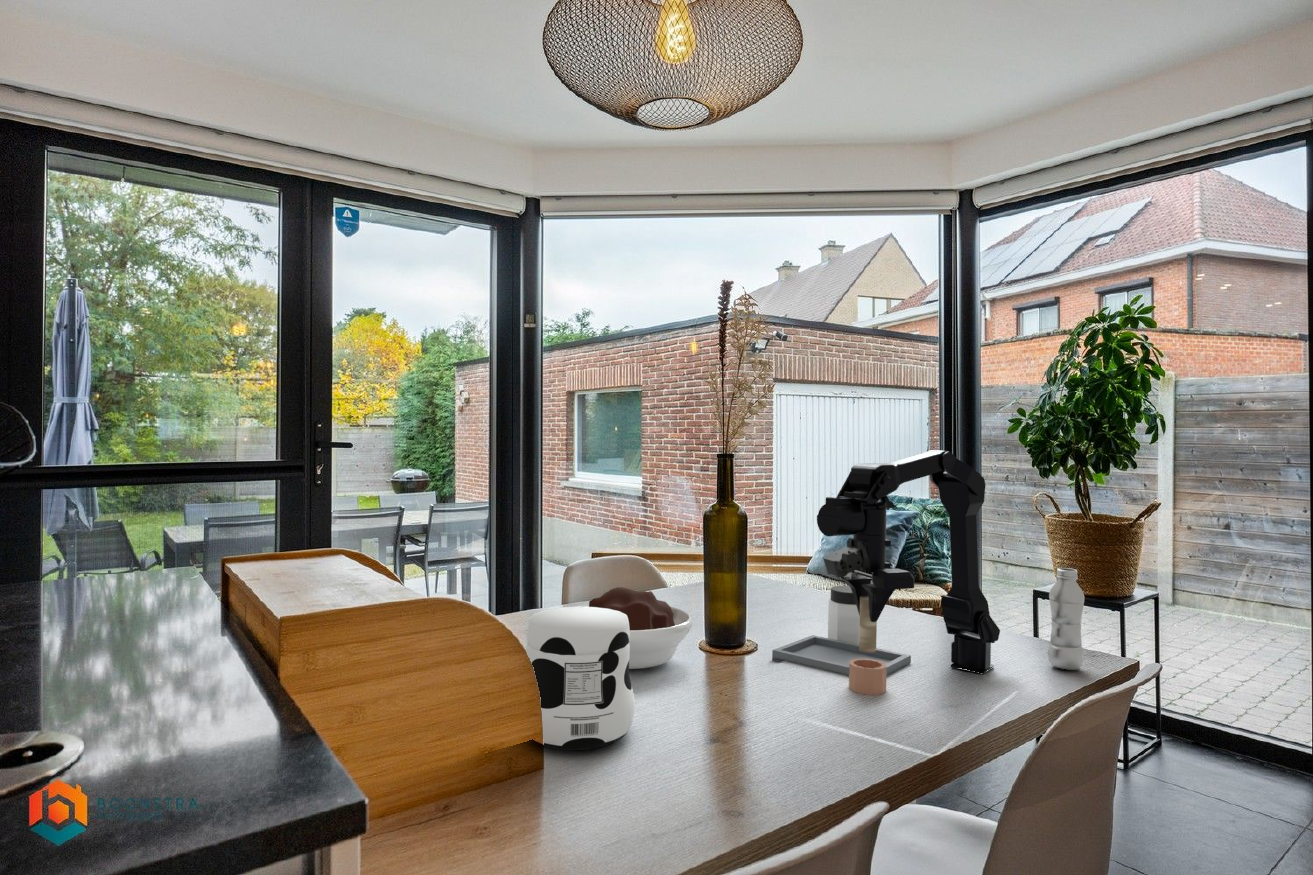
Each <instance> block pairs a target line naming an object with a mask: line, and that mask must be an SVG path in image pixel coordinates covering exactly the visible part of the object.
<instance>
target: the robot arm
mask: <svg viewBox="0 0 1313 875" xmlns="http://www.w3.org/2000/svg"><path fill="white" fill-rule="evenodd" d="M928 476H929V480H930V482H931V483H932V484H933V485H934V486H935V487H936V488H937V489H938V494H939V500H940V502H941V504H942V506H943V508H944V510H945V511H946V512H947V514H948V520H949V545H950V546H949V547H950V571H951V572H950V573H951V574H950V575H951V587H950V589H949V590H948V592H947V593H946V595H942V596H941V599H940V601H941V613H940V615H941V616H942V617H943V621H944V624H945V629H946V633H947V634H949V635H953V641H952V642H951V644H950V645H951V648H950V650H951V651H950V653H951V654H950V661H951V664H950V666H951V667H954V668H953V669H956V668H962V669H967V670H970V671H975V672H979V673H978V674H980V673H984V674H986V673H987V672H988V671H987V670H989V669H990V668H992V667H993V668H994V664H991V658H992V657H991V655H992V649H991V648H992V646H991V645H992V644H993V643H994V644H995V642H997V641H999V637H1000V633H1001V629H1000V628H999V626H998V625H997V624H996V622H995V620H994V619H993V618H992V616H991V615H990V609H989V602H988V600H987V598H986V597H985V595H984V593H983V591H982V589H981V588H980V586H979V585H980V584H979V560H978V558H979V557H978V556H979V554H978V531H977V528H978V527H977V526H978V525H977V514H978V513H979V511H980V510H981V508H982V506H983V505H984V502H985V494H986V480H985V478H984V476H982V475H981V473H980V472H979V471H977V470H976V469H975V468H973V467H972V466H971V465H969V464H967V463H966V462H964V461H962V460H961V459H958V457H956V456H955V454H953V453H952V452H950V451H949V450H938V449H937V450H935V449H933V450H932V449H931V450H927V451H925V452H923V453H920V454H916V455H913V456H909V457H905V458H902V459H901V458H900V459H898V460H895V461H894V460H893V461H891V462H886V463H878V462H877V463H875V462H874V463H856V464H854V465H852V466H851V469H850V471H849V474H848V476H847V477H846V479H845V481H844V483H843V485H842V486H841V487H840V490H839V492H838V493H837V495H836V497H833V496H827V497H825V504H823V505H822V506H821V507H820V508H819V510H818V514H817V515H816V524H817V527H818V530H819V531H820V532H821V534H822V535H824V536H825V537H841V536H853V537H848V539H847V540H846V547H842V548H840V549H837V550H834V551H833V552H830V553H827V554H826V555H825V556H823V557H822V559H823V562H824V565H825V568H826V572H827V575H829V576H830V575H832V576H835V577H836V578H840V580H842V581H843V582H844V583H846V584H847V586H850V588H851V590H852V593H853V596H854V599H855V602H856V606H857V609H858V612H859V616H860V597H861V596H868V599H869V614H870V621H871V622H877V621H878V620H879V618H880V616H881V614H882V612H883V610H884V608H885V606H886V604H887V603H888V601H889V599H890V598H891V596H892V595H893V593H894V591H895V590H907V589H908V590H909V589H911V590H912V589H915V576H914V574H913V573H912V572H911V571H910V570H909V571H908V570H905V569H901V568H891V565H892V564H891V562H887V558H886V555H887V554H886V552H887V550H886V549H887V547H891V546H892V540H891V539H887V509H895V507H896V504H895V503H894V502H893V501H892V500H891V499H890V498H889V497H888V496H889V495H890V494H893V492H896V491H897V490H898V489H899V487H900V485H902V484H905V483H907V482H911V481H914V480H918V479H921V478H926V477H928ZM877 623H878V622H877ZM951 667H950V668H951ZM993 668H992V669H993ZM990 670H991V669H990ZM990 670H989V671H990ZM970 671H969V672H970ZM986 671H987V672H986ZM975 672H974V673H975ZM985 672H986V673H985Z"/></svg>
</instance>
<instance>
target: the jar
mask: <svg viewBox="0 0 1313 875" xmlns="http://www.w3.org/2000/svg"><path fill="white" fill-rule="evenodd" d="M827 612H828V616H827V624H828V625H827V638H829V639H834V640H839V641H843V642H848V643H853V644H858V645H859V623H860V616H859V612H858V609H857V606H856V602H855V599H854V596H853V593H852V590H851V588H850V586H849V585H837V586H831V588H830V598H829V599H828V609H827Z"/></svg>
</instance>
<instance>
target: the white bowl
mask: <svg viewBox="0 0 1313 875" xmlns="http://www.w3.org/2000/svg"><path fill="white" fill-rule="evenodd" d="M584 607H598V608H607V609H612V610H616V611H620V612H622V613H624V614H626V615H627V617H628V620H629V628H630V641H629V645H630V655H629V670H635V669H636V670H637V669H639V670H640V669H648V668H654V667H657V666H660V665H664V664H665V663H668V662H669V661H670V660H671V659H672V658H673V657H674V655H675V653H676V651H677V650H678V649H677V648H678V646H679V644H680V643H681V642H683V640H684V639H685V638H686V637H687V635H688V633H690V631H691V628H692V627H693V626H692V625H693V618H692V616H691V615H690V613H689V612H687V611H685V610H683V609H681V608H678V607H676V606H672V605H670V604H668V603H667V601H664V600H659V599H657V597H656V595H655V593H653V592H652V591H651V590H650V591H645V590H644V591H642V590H641V591H637V590H633V589H630V588H627V587H623V586H622V587H621V586H620V587H618V586H617V587H613V588H611V589H609V590H608V591H606V592H604V593H603V594H602V595H601V596H599V597H595V598H593V599H591V600H589V602H588V605H586V606H584Z"/></svg>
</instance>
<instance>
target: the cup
mask: <svg viewBox="0 0 1313 875" xmlns="http://www.w3.org/2000/svg"><path fill="white" fill-rule="evenodd" d="M886 672H887V666H886V664H885V663H883V662H881V661H877V660H873V659H862V658H861V659H853V660H851V661H849V676H848V689H849V690H851V691H852V692H854V693H857V694H861V695H867V696H868V695H869V696H870V695H871V696H878V695H882V694H885V693H887V676H886Z"/></svg>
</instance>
